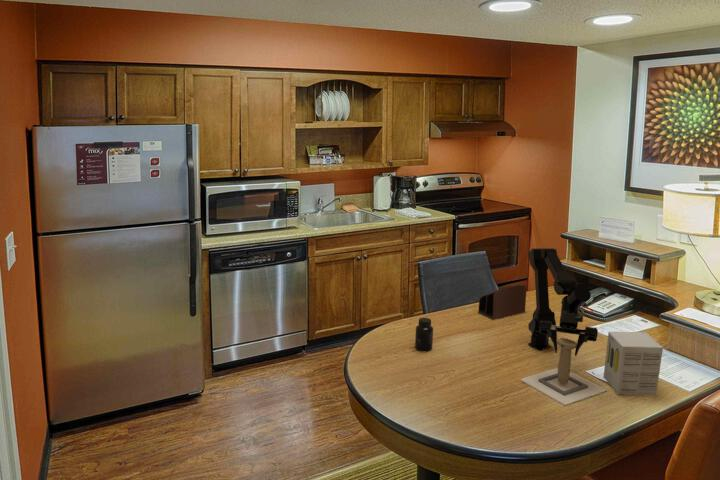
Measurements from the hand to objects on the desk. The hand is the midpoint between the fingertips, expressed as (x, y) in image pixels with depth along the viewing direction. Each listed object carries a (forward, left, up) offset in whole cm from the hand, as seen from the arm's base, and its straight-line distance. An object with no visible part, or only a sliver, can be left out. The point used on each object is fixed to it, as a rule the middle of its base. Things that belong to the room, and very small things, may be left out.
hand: (565, 354), depth 197 cm
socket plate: (-1, -1, -12) cm, 12 cm away
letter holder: (-32, -64, -13) cm, 73 cm away
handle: (-1, -1, -11) cm, 11 cm away
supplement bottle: (+23, -49, -12) cm, 55 cm away
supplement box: (-21, +10, -13) cm, 27 cm away
